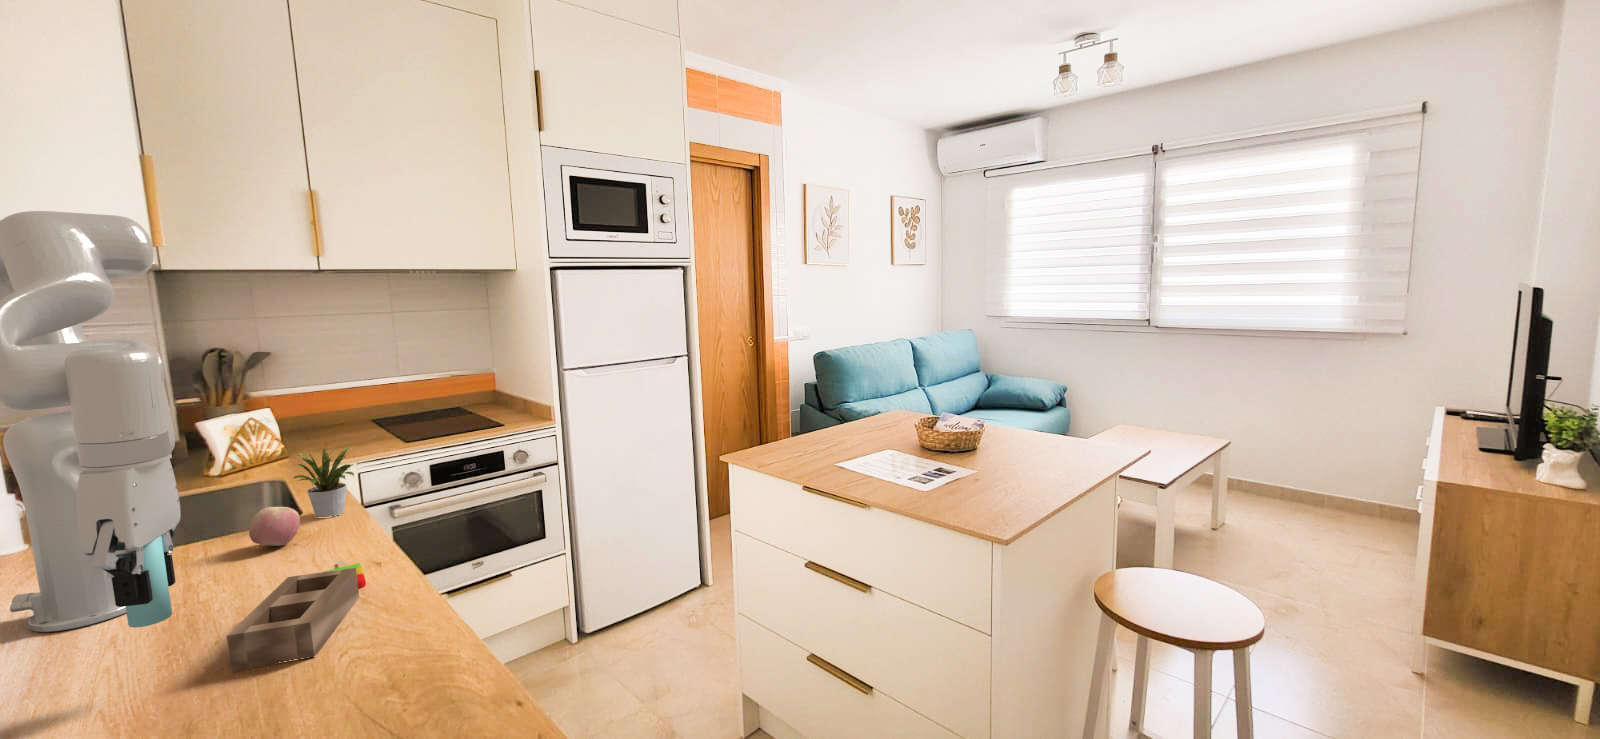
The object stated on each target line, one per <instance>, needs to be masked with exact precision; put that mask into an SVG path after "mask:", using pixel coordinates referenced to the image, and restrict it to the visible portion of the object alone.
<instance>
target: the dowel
mask: <svg viewBox="0 0 1600 739" xmlns="http://www.w3.org/2000/svg"><path fill="white" fill-rule="evenodd" d="M118 548H125V544H119V545H118ZM143 557H144V570H143V571H146V570H149V576H150V583H151V590H152V597H153V600H152V601H151V602H149V603H148V604H141V605H133V606H126V613H125V614H126V618H127V619H126V620H127V623H128V624H127V625H128V627H130V628H144V627H149V626H152V625H156V624H158V623H161V622H163V621H166V620H167V619H169V618H170V617H172V615H173V610H172V609H173V608H172V602H171V596H170V589H169V588H170V586H168V580H167V573H166V566H165V559H164V551H163V544H162V537H161V536H159V537H157V538H156V539H154V540H153V541H151V542H149V543H148V544H146V545H145V546H143ZM120 558H127V559H128V560H130V561H131V554H124V555H120Z"/></svg>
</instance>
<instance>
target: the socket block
mask: <svg viewBox="0 0 1600 739" xmlns="http://www.w3.org/2000/svg"><path fill="white" fill-rule="evenodd" d="M327 571H328V570H327ZM359 598H360V592H359V589H358V582H357V573H356V568H350V569H343V570H336V571H328V572H324V571H323V572H322V571H320V572H315V573H308V574H307V573H306V574H300V575H292V576H288V577H287V578H285V579H284V580H283V581H282V582H281V583H280V584H279V585H278V586H277V587H276V588H275V589H274V590H273V591H272V592H271V593H270V594H268V596H266V598H265V599H264V600H262V601H261V602H260V603H259V604H258V605H257V606H256V607H255V608H254V609H253V610H252V611H251V612H250V613H249V614H248V615H246V616H245V617H244V618H243V619H242V620H241V621H240V622H239V623H238V624H237V625H236V626H235V627H234V628H233V629H232V630H231V631H229V632H228V633H227V634H226V639H227V640H226V641H227V649H228V655H229V663H230V669H231V672H232V673H233V671H234V672H238V670H239V671H243V670H251V669H256V668H255V667H257V668H262V667H267V666H266V665H268V666H272V665H271V664H274V665H277V664H276V663H279V662H284V661H289V660H294V659H301V658H307V657H314V656H315V655H316V654H317V655H318V654H319V652H320V651H321V650H322V648H323V647H324V645H325V644H326V643H327V641H329V639H330V637H331V636H332V635H333V633H334V632H335V630H337V628H338V626H339V625H340V624H341V623H342V622H343V620H344V619H345V617H346V616H347V614H348V613H349V612H350V611H351V609H352V607H354V605H355V604H356V602H357V601H358V600H359ZM317 655H316V656H317ZM316 656H315V657H316ZM315 657H314V658H315Z"/></svg>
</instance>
